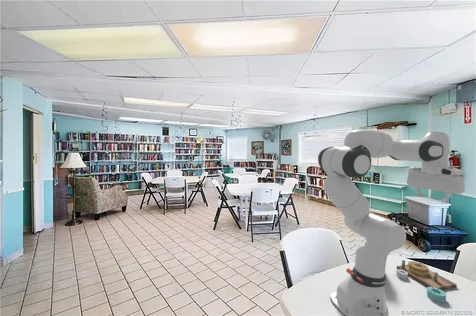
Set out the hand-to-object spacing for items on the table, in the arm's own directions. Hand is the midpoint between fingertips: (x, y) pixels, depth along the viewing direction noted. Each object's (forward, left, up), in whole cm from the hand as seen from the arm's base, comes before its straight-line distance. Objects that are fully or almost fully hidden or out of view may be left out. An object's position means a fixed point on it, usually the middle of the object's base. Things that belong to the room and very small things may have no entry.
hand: (431, 199), depth 99 cm
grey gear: (+2, +13, -44) cm, 46 cm away
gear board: (+13, +10, -44) cm, 47 cm away
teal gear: (+2, -3, -44) cm, 44 cm away
